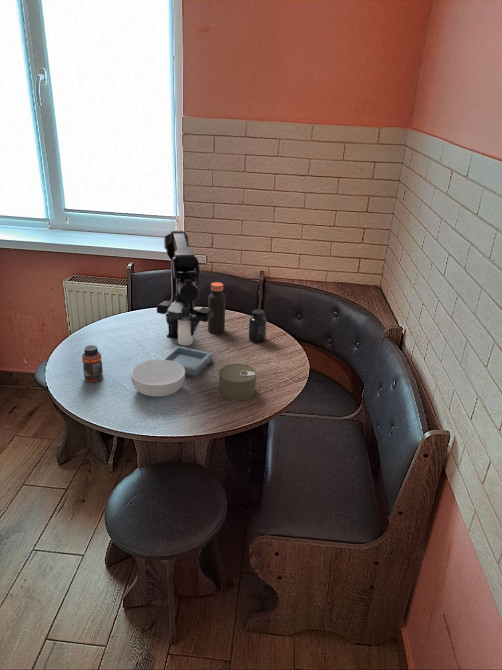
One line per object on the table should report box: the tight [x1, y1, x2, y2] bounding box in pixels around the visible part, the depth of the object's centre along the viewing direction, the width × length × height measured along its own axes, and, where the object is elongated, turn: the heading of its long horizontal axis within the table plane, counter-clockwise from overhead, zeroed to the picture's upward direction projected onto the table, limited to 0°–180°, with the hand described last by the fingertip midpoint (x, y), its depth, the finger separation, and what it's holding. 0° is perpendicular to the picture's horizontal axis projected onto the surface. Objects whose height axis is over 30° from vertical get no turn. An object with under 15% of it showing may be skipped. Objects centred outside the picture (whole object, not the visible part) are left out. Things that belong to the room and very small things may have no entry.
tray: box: [161, 345, 213, 379], centre depth 174 cm, size 14×14×3 cm
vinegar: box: [207, 281, 226, 335], centre depth 199 cm, size 7×7×20 cm
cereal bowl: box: [130, 358, 186, 398], centre depth 157 cm, size 17×17×7 cm
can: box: [218, 363, 257, 402], centre depth 159 cm, size 12×12×7 cm
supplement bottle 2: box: [248, 309, 268, 344], centre depth 195 cm, size 7×7×12 cm
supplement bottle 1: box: [81, 344, 104, 383], centre depth 161 cm, size 6×6×11 cm
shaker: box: [177, 314, 194, 346], centre depth 169 cm, size 5×5×10 cm
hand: (185, 334), depth 170 cm, fingers closed on shaker, 5 cm apart
